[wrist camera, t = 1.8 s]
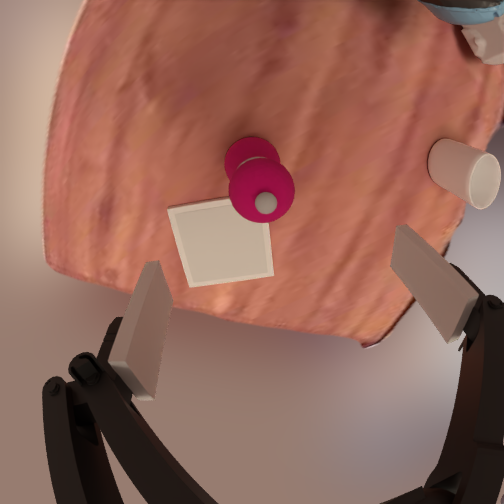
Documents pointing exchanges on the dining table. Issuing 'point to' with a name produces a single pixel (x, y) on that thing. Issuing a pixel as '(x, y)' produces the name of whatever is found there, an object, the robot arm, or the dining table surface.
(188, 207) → the plate
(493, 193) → the mug
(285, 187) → the pepper mill
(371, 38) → the dining table surface
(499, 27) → the white sculpture
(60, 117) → the dining table surface
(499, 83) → the dining table surface
